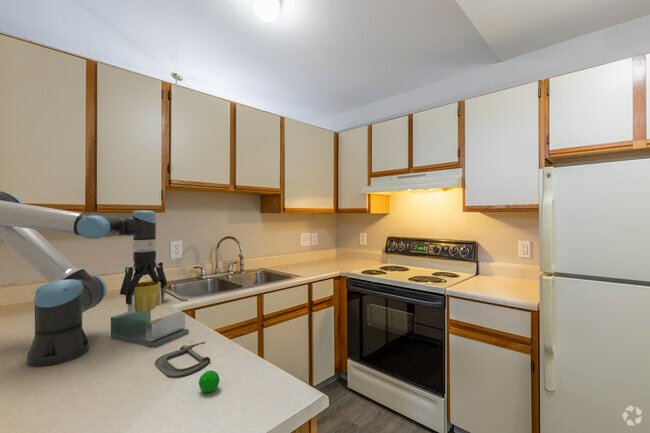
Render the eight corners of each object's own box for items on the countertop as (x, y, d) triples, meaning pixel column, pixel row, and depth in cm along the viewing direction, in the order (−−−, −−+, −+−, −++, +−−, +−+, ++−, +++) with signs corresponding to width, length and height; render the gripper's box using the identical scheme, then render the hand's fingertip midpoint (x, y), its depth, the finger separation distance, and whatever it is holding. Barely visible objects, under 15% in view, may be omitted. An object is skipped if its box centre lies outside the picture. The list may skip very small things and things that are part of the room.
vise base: (156, 347, 104) (156, 325, 104) (110, 337, 113) (110, 317, 113) (188, 333, 116) (188, 313, 116) (145, 325, 126) (145, 307, 126)
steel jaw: (152, 341, 104) (151, 324, 104) (145, 340, 105) (145, 323, 106) (184, 327, 117) (184, 312, 117) (179, 326, 118) (179, 311, 118)
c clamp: (149, 358, 97) (149, 350, 97) (204, 343, 108) (204, 336, 108) (166, 385, 81) (166, 374, 81) (227, 364, 93) (227, 355, 93)
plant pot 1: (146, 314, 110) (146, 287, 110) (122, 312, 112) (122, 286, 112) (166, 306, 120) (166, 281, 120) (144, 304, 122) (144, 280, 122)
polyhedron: (196, 389, 78) (196, 370, 78) (216, 383, 81) (216, 365, 81) (201, 398, 74) (201, 379, 74) (221, 391, 77) (221, 373, 77)
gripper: (121, 254, 104) (121, 318, 104) (176, 248, 125) (177, 301, 125) (107, 253, 107) (107, 316, 107) (163, 247, 128) (164, 299, 128)
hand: (145, 308), depth 116 cm, fingers closed on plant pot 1, 10 cm apart
